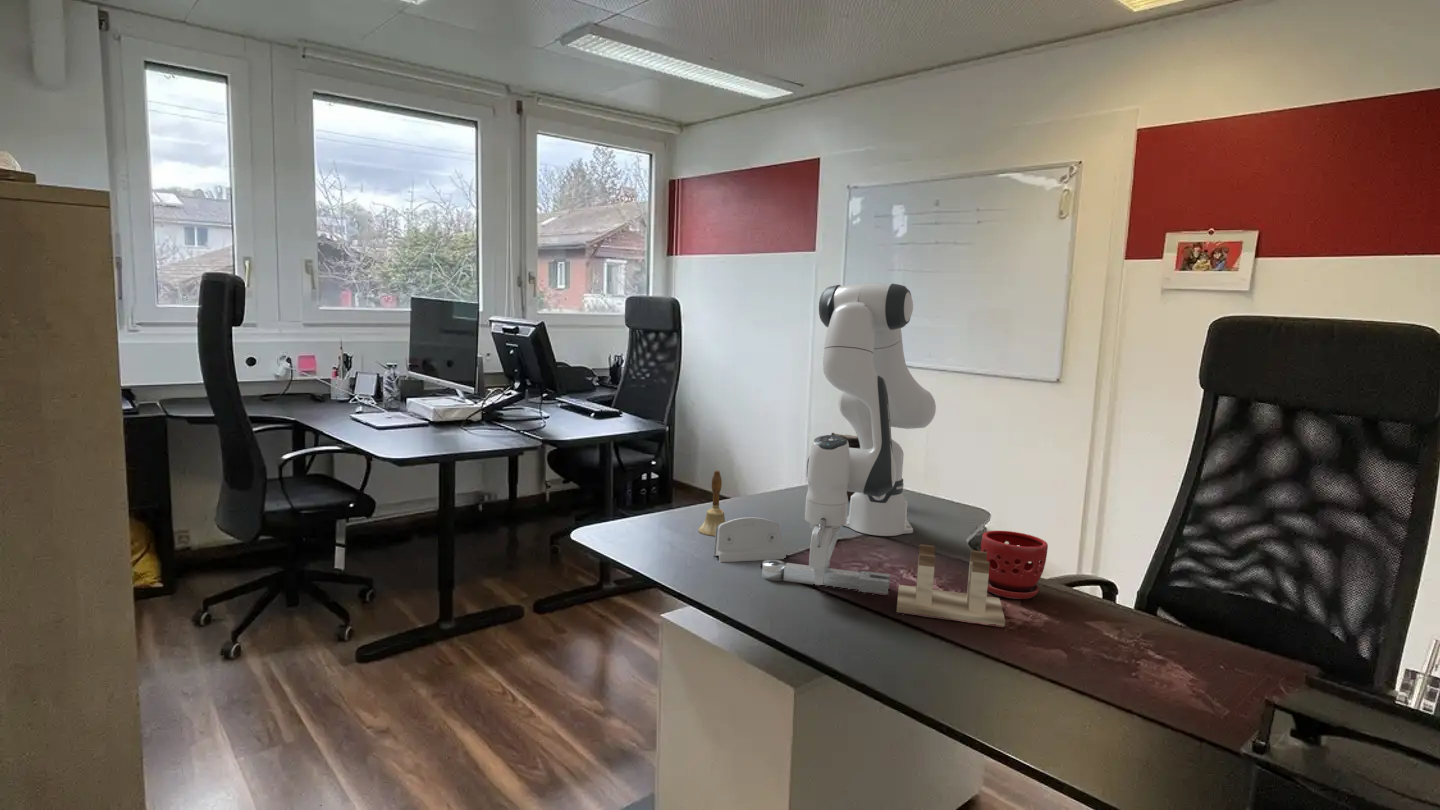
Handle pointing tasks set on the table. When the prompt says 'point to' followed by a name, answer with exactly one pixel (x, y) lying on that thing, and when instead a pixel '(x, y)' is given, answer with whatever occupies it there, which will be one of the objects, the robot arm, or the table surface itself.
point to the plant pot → (1014, 563)
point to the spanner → (826, 576)
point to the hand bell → (713, 509)
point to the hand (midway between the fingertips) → (822, 575)
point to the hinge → (748, 540)
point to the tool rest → (951, 603)
